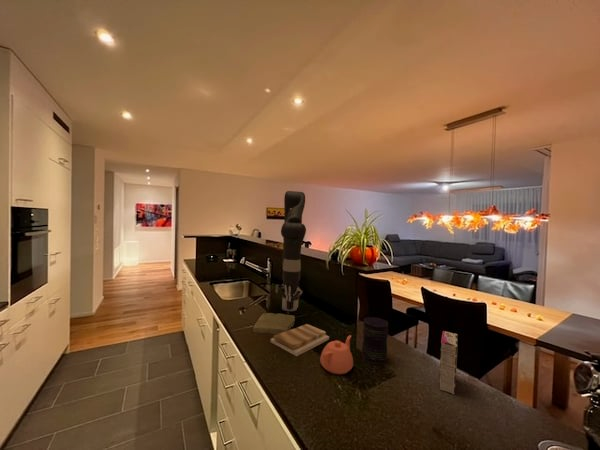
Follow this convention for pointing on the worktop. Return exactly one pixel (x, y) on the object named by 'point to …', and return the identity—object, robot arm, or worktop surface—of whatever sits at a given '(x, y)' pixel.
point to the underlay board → (302, 348)
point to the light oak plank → (313, 330)
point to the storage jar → (375, 340)
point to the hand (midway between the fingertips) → (289, 309)
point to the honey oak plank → (295, 338)
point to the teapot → (337, 357)
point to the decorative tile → (274, 323)
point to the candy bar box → (448, 362)
